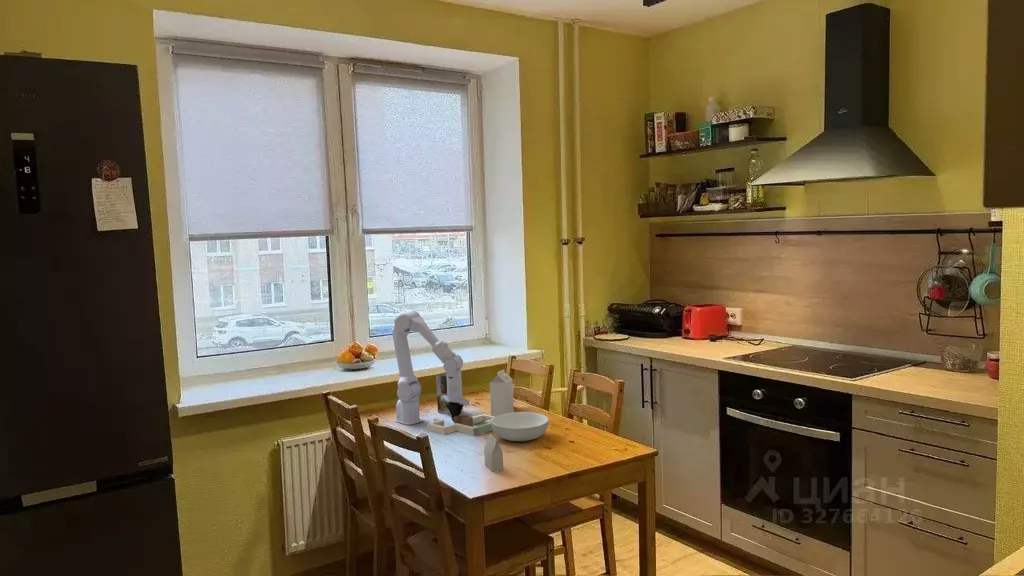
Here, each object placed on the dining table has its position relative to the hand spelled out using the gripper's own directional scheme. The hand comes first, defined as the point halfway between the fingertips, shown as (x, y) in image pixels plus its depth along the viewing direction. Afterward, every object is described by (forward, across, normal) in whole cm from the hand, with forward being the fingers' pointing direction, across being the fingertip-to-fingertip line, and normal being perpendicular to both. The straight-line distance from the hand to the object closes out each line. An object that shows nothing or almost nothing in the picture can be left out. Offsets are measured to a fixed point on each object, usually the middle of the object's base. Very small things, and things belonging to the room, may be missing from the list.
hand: (455, 421), depth 276 cm
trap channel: (+1, +5, 0) cm, 5 cm away
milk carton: (+2, +7, +19) cm, 20 cm away
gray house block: (+2, +48, -26) cm, 54 cm away
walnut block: (+1, +4, 0) cm, 5 cm away
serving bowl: (+2, +32, +3) cm, 32 cm away
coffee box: (+2, -17, +12) cm, 21 cm away
